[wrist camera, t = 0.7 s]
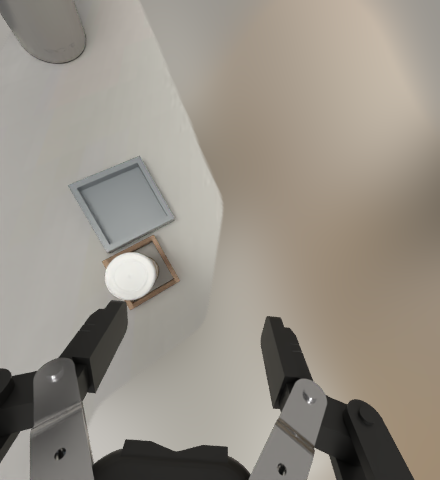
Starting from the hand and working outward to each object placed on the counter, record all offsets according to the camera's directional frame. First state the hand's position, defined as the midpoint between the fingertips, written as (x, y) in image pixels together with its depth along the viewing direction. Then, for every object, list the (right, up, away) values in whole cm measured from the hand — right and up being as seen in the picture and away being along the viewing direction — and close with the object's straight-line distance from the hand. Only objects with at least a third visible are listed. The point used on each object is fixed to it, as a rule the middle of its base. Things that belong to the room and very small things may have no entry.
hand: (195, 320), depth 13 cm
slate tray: (-13, +10, +21) cm, 27 cm away
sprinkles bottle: (-10, 0, +21) cm, 24 cm away
